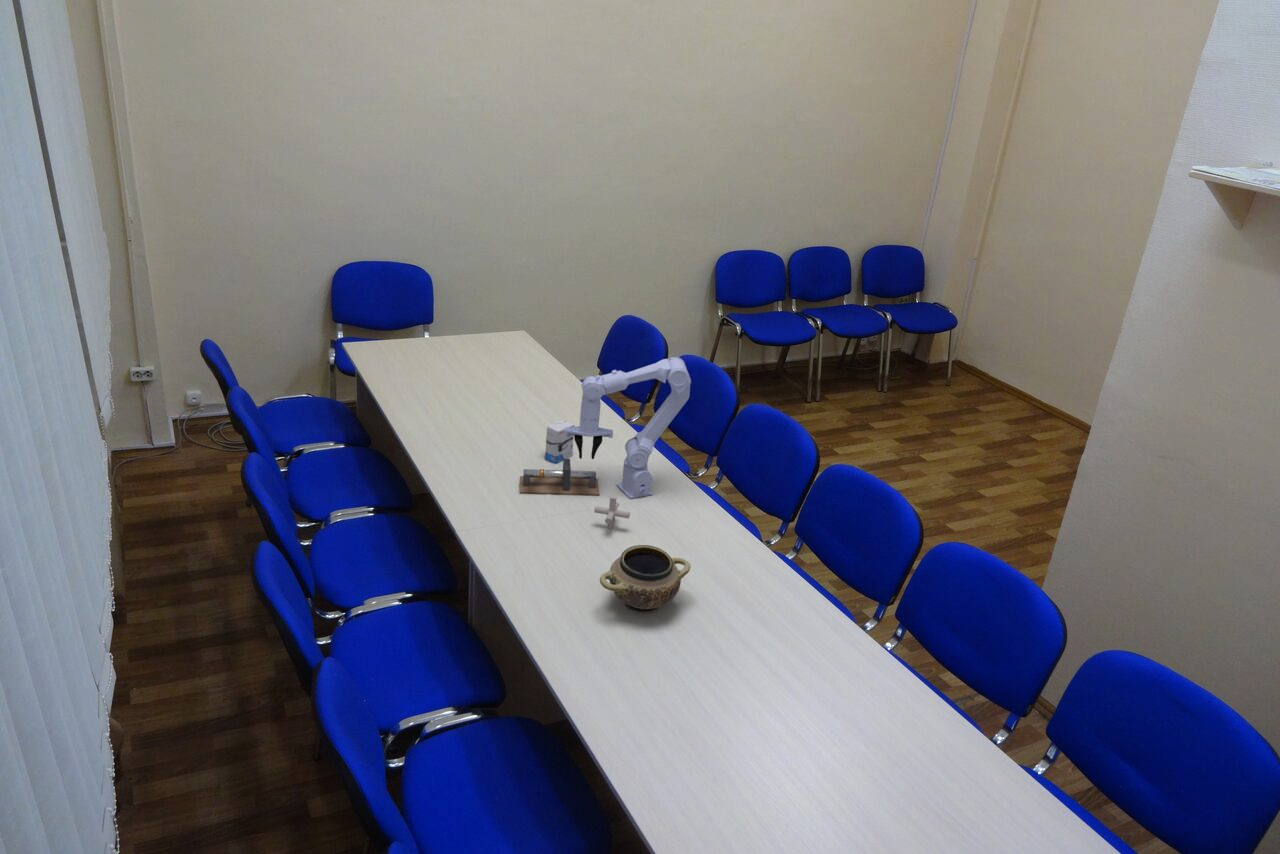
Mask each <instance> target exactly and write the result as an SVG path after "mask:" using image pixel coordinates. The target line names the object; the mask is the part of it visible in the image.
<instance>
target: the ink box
mask: <svg viewBox="0 0 1280 854" xmlns="http://www.w3.org/2000/svg"><path fill="white" fill-rule="evenodd" d="M565 427H566V428H568V427H575V423H572V422H570V421H568V420H566V419H562V420H559V421H557V422H554V423H552V424H548V425H547V427H546V435H545V436H546V437H545V439H546V440H545V454H544V459H545V460H546V461H549V462H551V463H553V464H555V465H556V464H558V463H561V462H563V459H570V458H571V457H573V454H574V453H573V452H574V450H573V449H574V448H573V447H574V440H575V439H574V435H568V436H564V428H565Z"/></svg>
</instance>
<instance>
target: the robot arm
mask: <svg viewBox="0 0 1280 854" xmlns="http://www.w3.org/2000/svg"><path fill="white" fill-rule="evenodd" d="M653 379H654V380H658V381H660V382H662V383H664V384H666V381H667V382H668V384H669V385H670V387H671V388H670V389H671V392H670V394H669V395H668V396H667V397H666V398H665V400H664V401H663V403H662V404H661V405H660V407H659V408H658V409H657V410H656V412H655V414H654V415H653V416H652V417H651V419H650V420H649V421H648V422H647V424H646V425H645V427H644V428H643V429H642V431H639V432H637V433H636V434H635V435H634V436H633V437H631V438H629V439H628V440H627V441H626V442H625V445H624V448H625V451H626V457H625V458H624V459H623V470H622V479H621V480H622V481H621V482H618V483H616V486H617V488H619V489H620V490H621V492H623V493H624V494H625V495H626V497H628V499H636V498H637V499H638V498H642V497H647V496H653V492H652V489H651V488H652V479H653V477H652V474H651V472H650V471H649V468H648V461H649V457H650V455H651V454H652V452H653V450H654V446H655V444H656V442H657V440H658V439H659V438H660V437H661V435H662V434H663V433H664V432H665V430H666V429H667V428H668V426H669V425H670V423H671V422H672V421H673V420H674V418H676V416H677V415H678V413H679V412H680V411H681V409H682V408H683V407H684V406H685V405H686V403H687V402H688V400H689V398H690V392H691V384H692V379H691V377H690V374H689V372H688V369H687V366H686V362H685V360H683V359H682V358H681V357H678V356H671V357H670V358H663V359H661V360H658V361H657V362H656V363H652V364H649V365H646V366H643V367H640V368H637V369H634V370H631V371H628V372H625V371H623V370H617V369H614V370H612V371H611V372H610V373H607V374H603V375H600V374H598V375H596V376H593V375H592V376H590V375H589V376H587V377H586V378H585V379H584V380H583V381H582V383H581V388H582V396H581V403H580V416H579V426H574V427H568V428H566V427H565V428H564V436H568V435H574V439H573V440H574V442H575V444H576V446H577V451H578V453H579V454H578V456H579V457H578V458H579V459H580V460H581V459H583V444H584V438H583V437H590V438H592V447H591V454H590V455H591V459H592V460H594V459H595V457H596V454H597V451H598V449H599V447H600V446H601V445H602V442H603V438H609V439H613V438H614V430H613V429H609V428H605V427H604V428H603V427H599V426H600V415H601V403H602V402H601V399H602V397H603V396H606V395H611V394H613V393H618V392H620V391H625V390H627V388H628V386H629V385H632V384H636V383H641V382H645V381H649V380H653Z"/></svg>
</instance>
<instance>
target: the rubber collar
mask: <svg viewBox="0 0 1280 854" xmlns="http://www.w3.org/2000/svg"><path fill="white" fill-rule="evenodd" d="M562 462H563V463H562V470H564V474H563V478H562V482H563V490H570V474H571V471H572V468H571V467H572V466H571V458H567V459H563V461H562Z"/></svg>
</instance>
